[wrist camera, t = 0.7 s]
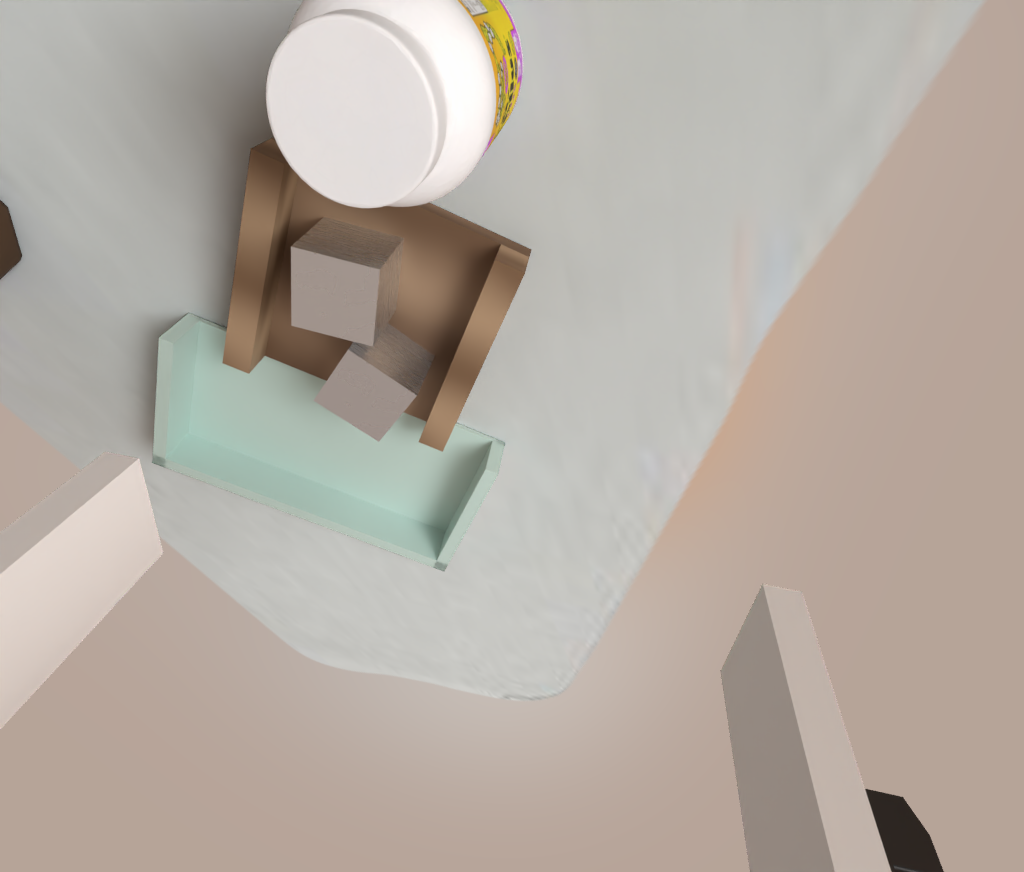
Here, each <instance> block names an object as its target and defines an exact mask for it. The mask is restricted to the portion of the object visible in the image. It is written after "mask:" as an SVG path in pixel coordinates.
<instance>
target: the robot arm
mask: <svg viewBox="0 0 1024 872" xmlns="http://www.w3.org/2000/svg"><path fill="white" fill-rule="evenodd" d="M162 554H163V550H162V546H161V542H160V538H159V534H158V530H157V526H156V522H155V518H154V514H153V511H152V507H151V503H150V499H149V495H148V491H147V487H146V483H145V479H144V475H143V471H142V467H141V464H140V460H139V458H135V457H130V456H125V455H120V454H115V453H110V452H104V453H103V454H102V455H100V456H99V457H98V458H96V459H95V460H94V461H92V462H91V463H90V464H89V465H87V466H86V467H85V468H83V469H82V470H81V471H79V472H78V473H77V474H76V475H74V476H73V477H72V478H70V479H69V480H68V481H67V482H65V483H64V484H63V485H61V486H60V487H59V488H57V489H56V490H55V491H53V492H52V493H51V494H49V495H48V496H47V497H46V498H44V499H43V500H42V501H41V502H39V503H38V504H37V505H35V506H34V507H33V508H31V509H30V510H29V511H27V512H26V513H25V514H23V515H22V516H21V517H19V518H18V519H17V520H16V521H14V522H13V523H12V524H10V525H9V526H8V527H7V528H5V529H4V530H3V531H1V532H0V729H1V728H2V727H3V726H4V725H5V724H6V723H7V721H8V720H9V719H10V718H11V717H12V716H13V715H14V714H15V713H16V712H17V711H18V710H19V708H20V707H21V706H22V705H23V704H24V703H25V702H26V701H27V700H28V699H29V698H30V697H31V696H32V694H33V693H34V692H35V691H36V690H37V689H38V688H39V687H40V686H41V685H42V684H43V682H44V681H45V680H46V679H47V678H48V677H49V676H50V675H51V674H52V673H53V672H54V671H55V670H56V669H57V667H58V666H59V665H60V664H61V663H62V662H63V661H64V660H65V659H66V657H68V656H69V654H70V653H71V652H72V651H73V650H74V649H75V648H76V647H77V646H78V645H79V644H80V643H81V641H82V640H83V639H84V638H85V637H86V636H87V635H88V634H89V633H90V632H91V631H92V630H93V629H94V627H95V626H96V625H97V624H98V623H99V622H100V621H101V620H102V619H103V618H104V617H105V616H106V614H107V613H108V612H109V611H110V610H111V609H112V608H113V607H114V606H115V605H116V604H117V603H118V601H119V600H120V599H121V598H122V597H123V596H124V595H125V594H126V593H127V592H128V591H129V590H130V589H131V587H132V586H133V585H134V584H135V583H136V582H137V581H138V580H139V579H140V578H141V577H142V576H143V574H144V573H145V572H146V571H147V570H148V569H149V568H150V567H151V566H152V565H153V563H155V561H156V560H157V559H158V558H159V557H160V556H161V555H162ZM721 677H722V685H723V691H724V698H725V705H726V711H727V719H728V725H729V732H730V739H731V745H732V752H733V759H734V766H735V773H736V779H737V786H738V793H739V800H740V807H741V814H742V821H743V827H744V834H745V841H746V848H747V855H748V861H749V867H750V872H944V871H943V869H942V866H941V864H940V861H939V858H938V856H937V853H936V850H935V848H934V845H933V843H932V840H931V837H930V835H929V834H928V832H927V831H926V830H925V828H924V827H923V825H922V824H921V822H920V821H919V820H918V818H917V817H916V815H915V814H914V812H913V811H912V810H911V808H910V807H909V805H908V804H907V803H906V801H905V800H904V798H903V797H900V796H895V795H891V794H886V793H882V792H877V791H873V790H868V789H865V788H864V785H863V782H862V779H861V775H860V772H859V769H858V766H857V762H856V759H855V756H854V753H853V750H852V747H851V744H850V741H849V737H848V734H847V731H846V728H845V725H844V722H843V719H842V715H841V713H840V709H839V706H838V703H837V700H836V697H835V693H834V690H833V687H832V684H831V681H830V678H829V675H828V672H827V668H826V665H825V662H824V659H823V656H822V653H821V650H820V647H819V643H818V640H817V637H816V634H815V631H814V628H813V625H812V622H811V618H810V615H809V613H808V609H807V606H806V603H805V600H804V597H803V593H802V592H801V591H796V590H791V589H786V588H781V587H776V586H771V585H766V584H762V586H761V589H760V591H759V593H758V595H757V597H756V599H755V601H754V603H753V605H752V607H751V609H750V611H749V613H748V615H747V617H746V619H745V622H744V624H743V626H742V628H741V630H740V632H739V634H738V636H737V638H736V640H735V642H734V644H733V646H732V648H731V650H730V653H729V655H728V657H727V659H726V661H725V663H724V665H723V667H722V669H721Z"/></svg>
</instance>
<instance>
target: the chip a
mask: <svg viewBox="0 0 1024 872" xmlns="http://www.w3.org/2000/svg"><path fill="white" fill-rule="evenodd" d="M403 241H404V238H402V237H398V236H395V235H391V234H387V233H383V232H379V231H376V230H372V229H368V228H364V227H360V226H357V225H353V224H349V223H345V222H341V221H338V220H334V219H330V218H326V217H324V218H323V219H321V220H320V221H319V222H318V223H317V224H316V225H315V226H313V227H312V228H311V229H310V230H309V231H308V232H307V233H306V234H304V235H303V236H302V237H301V238H300V239H299V240H298V241H296V242H295V243H294V244H293V245H292V246H291V326H295V327H298V328H302V329H306V330H310V331H314V332H318V333H322V334H326V335H330V336H333V337H337V338H341V339H345V340H349V341H353V342H357V343H361V344H365V345H368V346H372V347H373V346H374V344H375V343H376V341H377V339H378V338H379V336H380V335H381V333H382V331H383V330H384V328H385V327H386V325H387V323H388V322H389V320H390V319H391V317H392V315H393V314H394V312H395V311H396V304H397V295H398V286H399V277H400V268H401V259H402V250H403Z"/></svg>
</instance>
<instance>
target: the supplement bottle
mask: <svg viewBox="0 0 1024 872" xmlns="http://www.w3.org/2000/svg"><path fill="white" fill-rule="evenodd" d="M522 78H523V52H522V46H521V41H520V37H519V33H518V30H517V27H516V25H515V22H514V20H513V18H512V16H511V14H510V12H509V10H508V8H507V7H506V5H505V4H504V2H503V1H502V0H304V1H303V2H302V4H301V5H300V7H299V9H298V10H297V12H296V13H295V16H294V18H293V20H292V22H291V24H290V27H289V30H288V33H287V35H286V36H285V38H284V39H283V41H282V42H281V43H280V45H279V46H278V48H277V50H276V52H275V53H274V56H273V58H272V61H271V64H270V67H269V70H268V74H267V82H266V108H267V114H268V119H269V123H270V127H271V130H272V133H273V136H274V138H275V140H276V143H277V145H278V147H279V149H280V151H281V152H282V154H283V156H284V157H285V159H286V161H287V162H288V164H289V165H290V166H291V168H292V169H293V170H294V171H295V172H296V173H297V175H298V176H299V177H300V178H301V179H302V180H303V181H304V182H306V183H307V184H308V185H309V186H310V187H311V188H312V189H314V190H315V191H317V192H318V193H319V194H321V195H323V196H324V197H326V198H328V199H330V200H333V201H335V202H337V203H340V204H343V205H346V206H351V207H357V208H378V207H383V206H393V207H410V206H417V205H422V204H426V203H429V202H432V201H434V200H437V199H439V198H441V197H443V196H445V195H446V194H448V193H449V192H451V191H452V190H454V189H455V188H456V187H457V186H459V185H460V184H461V183H462V182H463V181H464V180H465V179H466V178H467V177H468V176H469V174H470V173H471V172H472V171H473V169H474V168H475V166H476V165H477V164H478V162H479V161H480V159H481V157H482V156H483V155H484V153H485V152H486V150H487V149H488V148H489V146H490V145H491V144H492V142H493V140H494V139H495V138H496V136H497V135H498V134H499V132H500V130H501V129H502V127H503V126H504V124H505V123H506V121H507V120H508V118H509V116H510V115H511V113H512V111H513V109H514V107H515V105H516V102H517V99H518V96H519V93H520V89H521V85H522Z"/></svg>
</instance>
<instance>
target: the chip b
mask: <svg viewBox="0 0 1024 872" xmlns="http://www.w3.org/2000/svg"><path fill="white" fill-rule="evenodd" d="M434 357H435V356H434V355H433V354H432V353H430V352H429V351H427V350H426V349H424V348H423V347H422V346H420V345H419V344H417V343H416V342H414V341H413V340H411V339H410V338H409V337H407V336H406V335H404V334H403V333H401V332H400V331H399V330H397V329H396V328H394V327H393V326H391V325H390V324H388V323H387V325H386V327H385V328H384V330H383V331H382V333H381V335H380V336H379V338H378V339H377V341H376V343H375V344H374V346H373V347H372V346H368V345H365V344H361V343H357V342H353V343H352V345H351V346H350V347H349V349H348V350H347V352H346V353H345V355H344V356H343V358H342V359H341V361H340V362H339V364H338V365H337V367H336V368H335V370H334V371H333V372H332V374H331V375H330V377H329V378H328V380H327V381H326V383H325V384H324V386H323V387H322V389H321V390H320V392H319V393H318V395H317V396H316V397H315V399H314V400H313V401H315V402H316V403H318V404H319V405H321V406H323V407H324V408H326V409H327V410H329V411H331V412H332V413H334V414H335V415H337V416H339V417H340V418H342V419H343V420H345V421H347V422H348V423H350V424H351V425H353V426H354V427H356V428H358V429H359V430H361V431H362V432H364V433H366V434H367V435H369V436H370V437H372V438H374V439H375V440H377V441H378V442H379V441H380V440H381V439H382V438H383V436H384V435H385V434H386V433H387V432H388V430H389V429H390V428H391V427H392V425H393V424H394V423H395V422H396V421H397V419H398V418H399V417H400V416H401V414H402V413H403V412H404V411H405V410H406V408H407V407H408V406H409V405H410V404H411V402H412V401H413V400H414V399H415V397H416V396H417V395H418V392H419V390H420V388H421V386H422V383H423V381H424V379H425V377H426V375H427V372H428V370H429V368H430V366H431V363H432V361H433V359H434Z"/></svg>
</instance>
